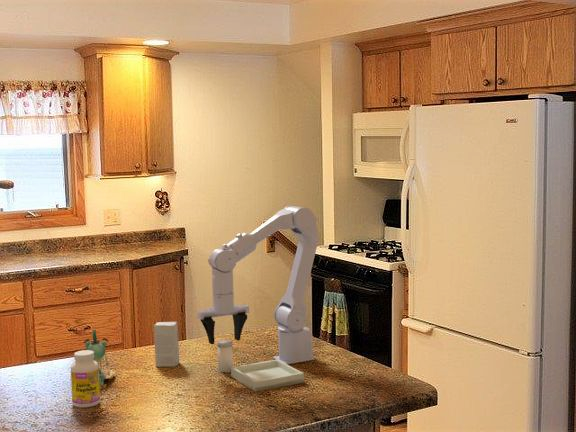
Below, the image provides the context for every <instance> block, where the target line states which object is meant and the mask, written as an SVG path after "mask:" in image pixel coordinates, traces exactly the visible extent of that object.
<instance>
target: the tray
mask: <svg viewBox="0 0 576 432" xmlns="http://www.w3.org/2000/svg"><path fill="white" fill-rule="evenodd" d="M304 375H305V374H304V372H303V371H300V370H298V369H296V368H295V367H292V366H291V365H290V364H285V363H283V362H282V361H280V360H278V359H272V360H266V361H260V362H254V363H249V364H242V365H238V366H233V367H231V372H230V376H231V378H233V379H235V380H236V381H237V382H239V383H241V384H242V385H244V386H245V387H247V388H249V389H250V390H252V391H253V392H255V393H256V392H261V391H267V390H273V389H277V388H278V389H279V388H281V387H282V388H283V387H287V386H293V385H299V384H303V383H305V377H304Z"/></svg>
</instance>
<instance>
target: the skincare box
mask: <svg viewBox="0 0 576 432" xmlns="http://www.w3.org/2000/svg"><path fill="white" fill-rule="evenodd" d="M178 331H179V328H178V321H160V322H159V321H157V322H156V323H155V324H153V336H154V337H153V338H154V355H155V356H154V357H155V367H157V368H158V367H163V368H164V367H177V366H178V364H180V348H179V347H180V346H179V332H178Z"/></svg>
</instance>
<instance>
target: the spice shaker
mask: <svg viewBox="0 0 576 432" xmlns="http://www.w3.org/2000/svg"><path fill="white" fill-rule="evenodd" d="M233 343H234V342H233V340H230V339H222V340H218V341H217V342H216V346H217V363H218V364H217V365H218V372H219V371H220V372H219V373H223V372H226V373H231V367H234V362H233V361H234V359H233V354H234V353H233Z"/></svg>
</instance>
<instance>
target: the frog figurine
mask: <svg viewBox="0 0 576 432" xmlns="http://www.w3.org/2000/svg"><path fill="white" fill-rule="evenodd" d="M97 337H98V336H97V331H96V329H92V340H90V339H89V338H87V339H85V340H84V342H83V344H84V347H85V348H86V350H91V351H94V358H93V360H94V361H96V362H97V363H98V365H99V367H100V368H99V384H100V390H103V389H105V388H107V386H108V384H107V383H105V382H104V381H105V380H107V379H109V380H111V379H113V377H114V376H115V375H116V371H114V369H113V370H112V369H103V366H102V361H101V359H103V358H104V356H105V363H106V364H105V365H106V366H109V362H108V358H107V354H106V349H105V348H106V347H107V343H109V340H108V339H107V338H106V337H103V338H102V341H101V342H100V339H98V338H97Z"/></svg>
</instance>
